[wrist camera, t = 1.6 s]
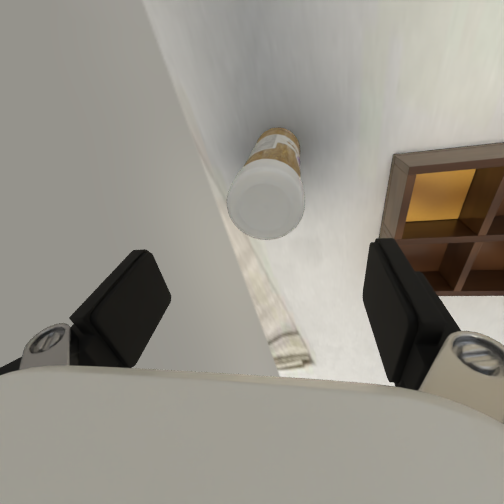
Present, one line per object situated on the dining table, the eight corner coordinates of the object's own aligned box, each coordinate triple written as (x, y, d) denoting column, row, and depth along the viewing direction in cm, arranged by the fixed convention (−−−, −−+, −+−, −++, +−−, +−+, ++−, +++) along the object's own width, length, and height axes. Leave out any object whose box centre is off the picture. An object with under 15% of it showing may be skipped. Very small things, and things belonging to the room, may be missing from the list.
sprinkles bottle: (306, 162, 25) (316, 228, 14) (265, 180, 27) (246, 251, 16) (290, 116, 23) (287, 153, 12) (246, 138, 24) (210, 188, 14)
